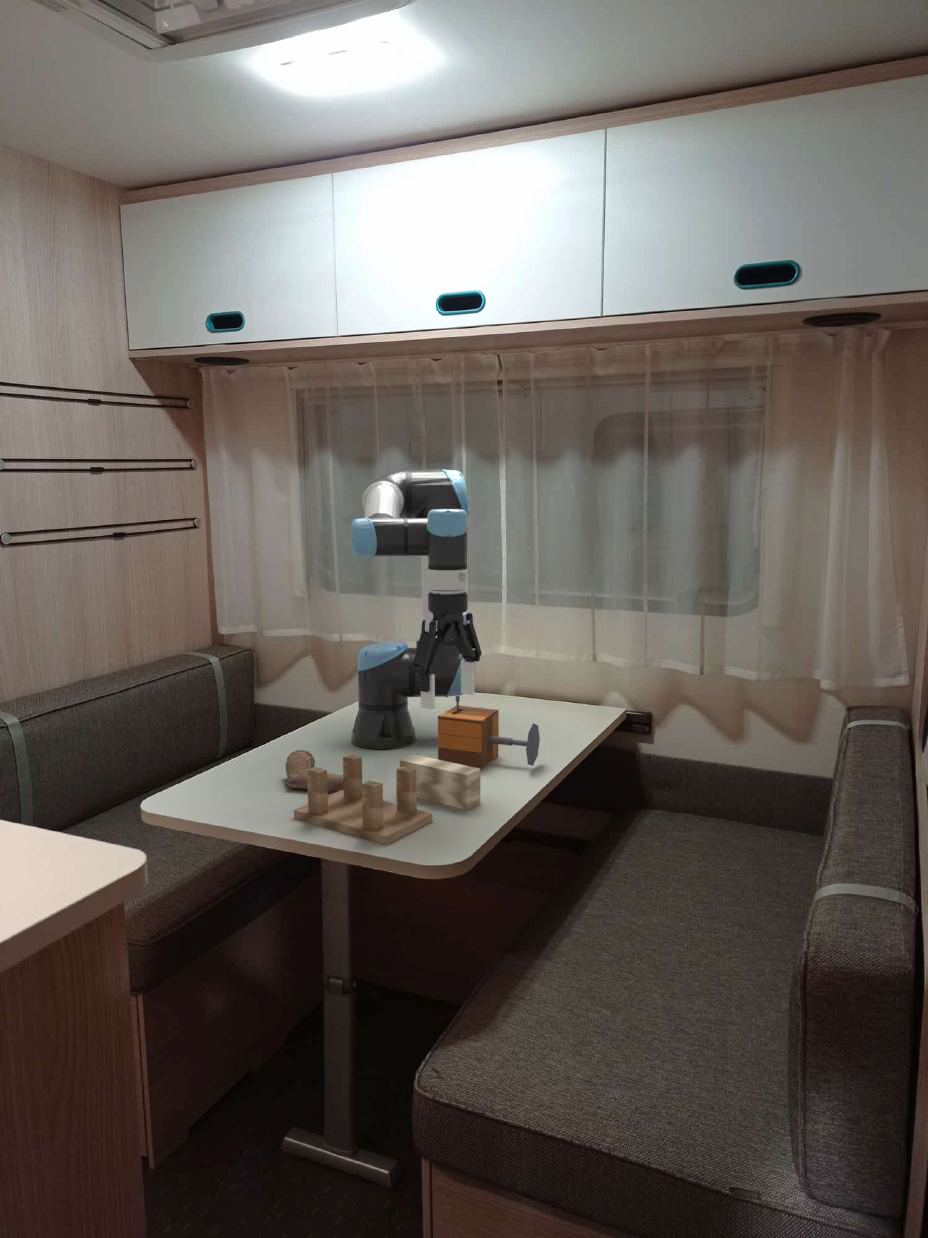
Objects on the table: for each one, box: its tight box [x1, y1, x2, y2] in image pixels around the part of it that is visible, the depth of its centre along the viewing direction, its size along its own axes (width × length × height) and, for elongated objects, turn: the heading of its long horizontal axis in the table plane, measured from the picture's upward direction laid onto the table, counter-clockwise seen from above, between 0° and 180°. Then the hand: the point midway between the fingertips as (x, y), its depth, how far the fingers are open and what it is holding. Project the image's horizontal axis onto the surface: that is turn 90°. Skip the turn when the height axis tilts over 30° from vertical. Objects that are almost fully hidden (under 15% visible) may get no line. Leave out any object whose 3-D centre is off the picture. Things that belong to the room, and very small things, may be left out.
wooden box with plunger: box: [437, 696, 541, 771], centre depth 195 cm, size 11×20×14 cm, turn 67°
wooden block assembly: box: [293, 753, 433, 846], centre depth 162 cm, size 22×13×10 cm, turn 55°
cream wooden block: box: [399, 754, 481, 811], centre depth 174 cm, size 16×4×7 cm, turn 55°
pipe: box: [284, 749, 344, 794], centre depth 181 cm, size 6×17×10 cm
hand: (448, 701), depth 172 cm, fingers open, 13 cm apart
